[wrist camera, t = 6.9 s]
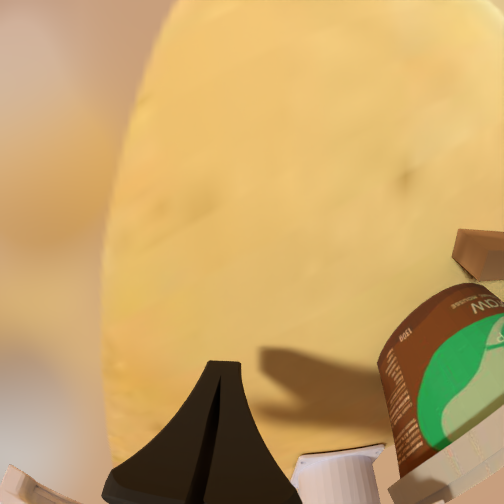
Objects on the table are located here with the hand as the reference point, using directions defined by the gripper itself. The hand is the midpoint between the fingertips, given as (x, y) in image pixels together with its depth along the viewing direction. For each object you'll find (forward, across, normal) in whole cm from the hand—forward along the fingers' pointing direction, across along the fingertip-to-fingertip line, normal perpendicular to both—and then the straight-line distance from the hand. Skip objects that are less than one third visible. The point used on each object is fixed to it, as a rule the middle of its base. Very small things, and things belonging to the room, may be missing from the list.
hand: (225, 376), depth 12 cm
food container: (+3, -13, -1) cm, 13 cm away
